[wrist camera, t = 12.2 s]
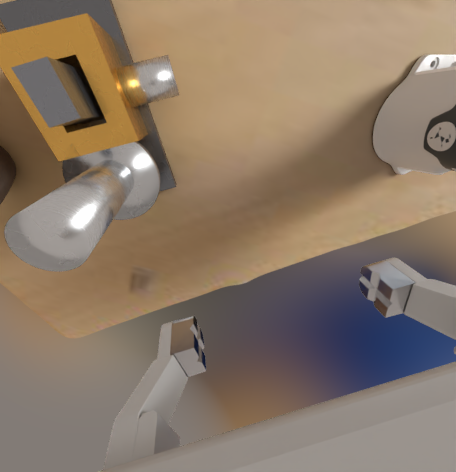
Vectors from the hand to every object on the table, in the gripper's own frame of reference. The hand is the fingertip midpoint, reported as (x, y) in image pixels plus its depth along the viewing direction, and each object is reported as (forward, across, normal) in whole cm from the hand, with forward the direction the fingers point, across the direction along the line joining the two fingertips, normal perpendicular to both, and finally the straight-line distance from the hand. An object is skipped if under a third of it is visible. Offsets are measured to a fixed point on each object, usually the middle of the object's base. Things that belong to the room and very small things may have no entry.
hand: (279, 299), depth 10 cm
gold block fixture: (+31, +11, -10) cm, 34 cm away
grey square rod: (+30, +13, -12) cm, 34 cm away
